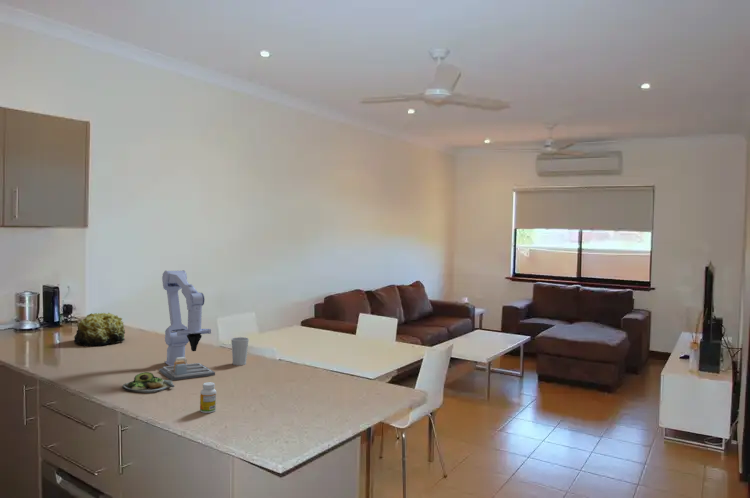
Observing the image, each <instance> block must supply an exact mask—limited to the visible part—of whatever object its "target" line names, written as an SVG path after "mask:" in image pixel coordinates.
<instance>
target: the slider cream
mask: <svg viewBox="0 0 750 498" xmlns="http://www.w3.org/2000/svg"><path fill="white" fill-rule="evenodd" d="M180 360H183V361H185V363H186V365H187V364H188V363H187V361H188V359H187V357H186V356H185V357H178V358H176V360H175V361H180Z"/></svg>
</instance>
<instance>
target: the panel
mask: <svg viewBox="0 0 750 498" xmlns="http://www.w3.org/2000/svg"><path fill="white" fill-rule="evenodd" d="M186 366H187V373H186V374H182V375H175V372H174V366H169V365H166V366H163V367H162V368H158V369H159V371H158V372H159V373H160V374H162V375H163V376H164V377H166V378H167V380H170V381H172V382H173V381H179V380H185V379H187V380H188V379H194V378H202V377H211V376H215V375H216V372H215V371H213V370H212V369H210V368H209V367H207V366H205V365H204V364H202V363H200V362H197V363H196V362H195V363H187V365H186Z"/></svg>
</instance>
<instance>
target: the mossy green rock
mask: <svg viewBox="0 0 750 498" xmlns="http://www.w3.org/2000/svg"><path fill="white" fill-rule="evenodd" d="M76 327H77V328H76V329H77V330H76V333H75V335H74V337H73V338H74V341H73V342H74V344H75V345H77V344H79V343H80V344H81V345H83V346H84V347H90V346H92V347H94V346H96V347H97V346H98V347H102V346H104V345H105V346H106V345H108V344H115V345H116V343H120V342H123V341H125V333H126V330H125V328H124V322H123V318H122V317H119V316H118V315H115V314H113V313H110V312H108V313H106V312H103V313H102V312H101V313H99V312H98V313H97V312H96V313H90V314H87V315H86V316H85V318H83V319H81V320H80V321H79V322H78V323H77V325H76Z"/></svg>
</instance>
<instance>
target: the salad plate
mask: <svg viewBox="0 0 750 498" xmlns="http://www.w3.org/2000/svg"><path fill="white" fill-rule="evenodd" d="M121 387H122V389H124V391H127V392H130V393H131V392H133V393H141V394H149V393H151V394H153V393H160V392H163V391H165V390H167V389H170V388H174V387H175V385H174V384H173V380H172V381H171V380H170V379H163V378H161V377H158V376H155V375H154V374H153V373H152V372H149V371H146V372H145V371H144V372H141V373H138V374H136V375H135V376H134V377H133V380H132V381H129V382H125V383H124V384H122V386H121Z"/></svg>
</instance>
